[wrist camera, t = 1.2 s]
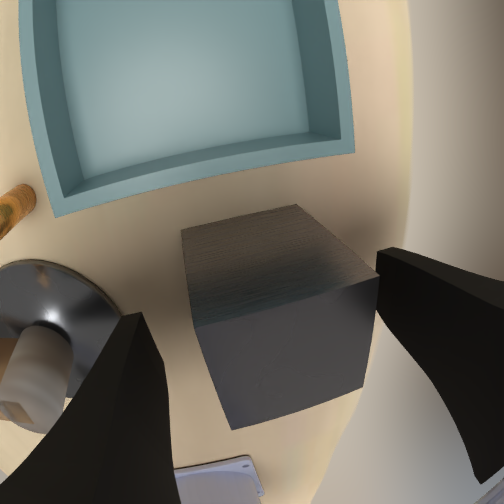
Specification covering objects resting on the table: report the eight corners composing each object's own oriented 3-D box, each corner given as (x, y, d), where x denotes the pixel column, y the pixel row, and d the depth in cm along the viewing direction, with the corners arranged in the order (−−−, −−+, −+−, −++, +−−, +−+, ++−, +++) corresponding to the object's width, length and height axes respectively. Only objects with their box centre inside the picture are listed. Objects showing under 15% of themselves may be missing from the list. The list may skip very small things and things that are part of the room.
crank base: (154, 380, 13) (157, 435, 10) (32, 396, 11) (21, 443, 9) (69, 166, 8) (32, 191, 6) (-66, 226, 7) (-108, 261, 4)
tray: (316, 141, 10) (354, 152, 8) (79, 192, 9) (55, 218, 6) (284, -62, 6) (313, -93, 4) (48, -24, 5) (22, -51, 3)
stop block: (302, 297, 13) (362, 387, 8) (205, 322, 12) (231, 430, 8) (296, 204, 11) (379, 275, 6) (180, 229, 10) (194, 328, 6)
